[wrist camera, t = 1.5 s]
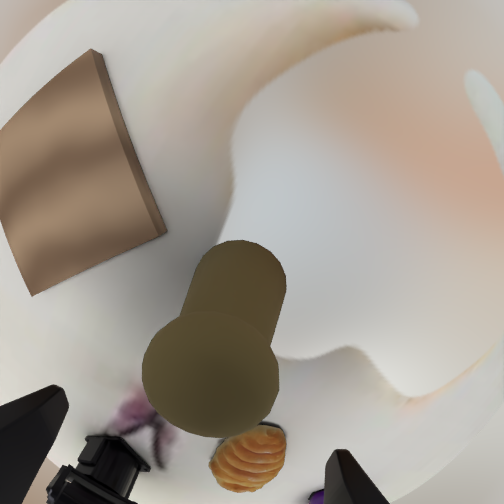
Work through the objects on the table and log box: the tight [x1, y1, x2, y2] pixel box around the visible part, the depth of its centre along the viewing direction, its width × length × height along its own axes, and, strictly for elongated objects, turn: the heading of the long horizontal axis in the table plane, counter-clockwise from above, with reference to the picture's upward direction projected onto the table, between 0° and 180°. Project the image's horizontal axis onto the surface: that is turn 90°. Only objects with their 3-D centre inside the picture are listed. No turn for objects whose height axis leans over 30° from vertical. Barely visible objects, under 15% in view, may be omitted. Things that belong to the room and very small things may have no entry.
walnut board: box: [0, 49, 167, 296], centre depth 18 cm, size 14×14×2 cm
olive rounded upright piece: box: [142, 240, 286, 438], centre depth 14 cm, size 6×6×11 cm
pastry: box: [209, 425, 286, 493], centre depth 23 cm, size 9×7×4 cm
